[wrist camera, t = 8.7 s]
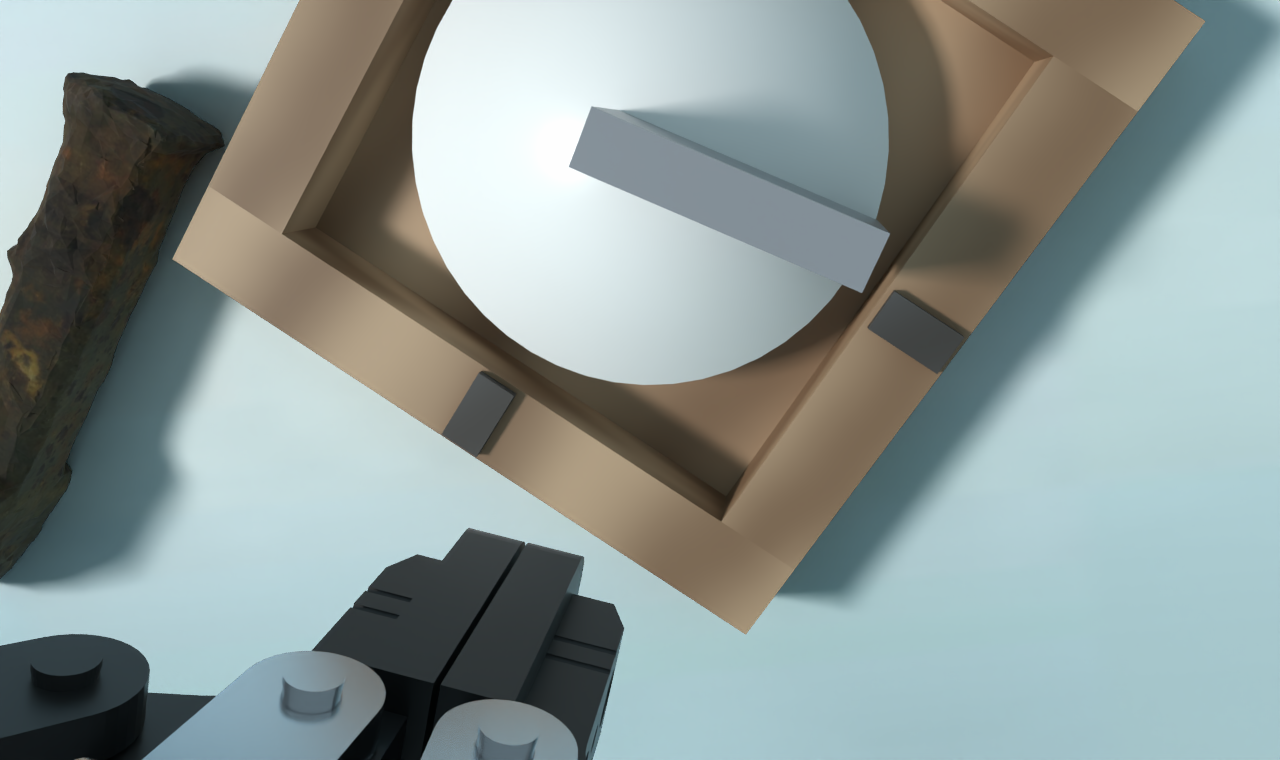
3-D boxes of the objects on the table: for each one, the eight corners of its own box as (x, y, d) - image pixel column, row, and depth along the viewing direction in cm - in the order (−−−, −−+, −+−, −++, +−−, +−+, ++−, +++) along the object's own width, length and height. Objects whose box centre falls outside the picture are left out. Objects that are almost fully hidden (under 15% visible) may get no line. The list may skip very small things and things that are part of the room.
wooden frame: (222, 249, 33) (166, 260, 30) (540, -380, 28) (510, -442, 25) (749, 594, 34) (745, 639, 31) (1166, 31, 28) (1210, 19, 25)
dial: (372, 269, 32) (287, 296, 27) (521, -171, 29) (458, -241, 23) (767, 442, 31) (761, 504, 26) (967, 14, 28) (1007, -14, 23)
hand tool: (137, 64, 33) (32, 53, 28) (246, 133, 33) (157, 132, 28) (-65, 537, 38) (-182, 590, 33) (28, 597, 38) (-76, 658, 33)
